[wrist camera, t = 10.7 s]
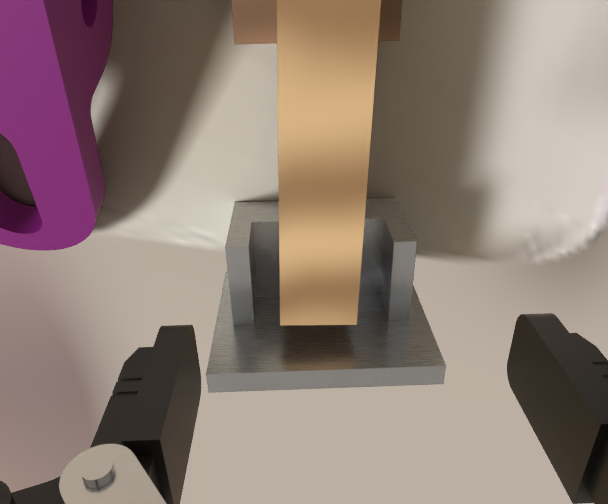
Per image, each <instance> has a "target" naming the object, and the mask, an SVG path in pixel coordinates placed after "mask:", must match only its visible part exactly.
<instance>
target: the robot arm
mask: <svg viewBox="0 0 608 504" xmlns="http://www.w3.org/2000/svg"><path fill="white" fill-rule="evenodd" d="M507 374H508V380H509V383H510V387H511V389H512V390H513V393H514V394H515V396H516V398H517V400H518V402H519V404H520V405H521V407H522V409H523V411H524V413H525V415H526V417H527V418H528V420H529V423H530V424H531V426H532V428H533V430H534V432H535V434H536V436H537V437H538V439H539V441H540V443H541V445H542V447H543V449H544V450H545V452H546V454H547V456H548V458H549V460H550V462H551V464H552V465H553V467H554V469H555V471H556V472H557V475H558V477H559V478H560V480H561V482H562V484H563V486H564V488H565V489H566V492H567V493H568V495H569V497H570V499H571V501H572V503H573V504H577V503H595V504H608V360H607V359H606V358H605V357H604V355H603V354H602V353H601V352H600V351H599V349H598V348H597V347H596V346H595V345H593V344H592V343H590V342H589V341H587V340H586V339H585V338H583V337H582V336H580V335H579V334H577V333H569V332H568V331H567V330H566V328H565V327H564V326H563V325H562V323H561V322H560V321H559V319H558V318H557V317H556V316H555V315H554V314H551V313H550V314H549V313H548V314H522V315H520V316H519V317H518V319H517V321H516V325H515V330H514V335H513V340H512V344H511V349H510V353H509V358H508V363H507ZM200 395H201V374H200V366H199V360H198V353H197V346H196V340H195V333H194V328H193V326H192V325H176V326H161V327H160V329H159V332H158V335H157V338H156V341H155V344H154V347H143V348H138V349H137V350H136V351H135V352H134V353H133V354H132V355H131V356H130V357H129V358H128V359H127V360H126V361H125V363H124V365H123V367H122V370H121V373H120V375H119V378H118V382H116V385H115V387H114V390H113V395H112V396H111V398H110V400H109V402H108V405H107V407H106V410H105V412H104V415H103V417H102V420H101V423H100V425H99V428H98V430H97V432H96V435H95V437H94V440H93V442H92V445H91V447H90V449H88V450H85V451H84V452H82V453H81V454H79V455H78V456H77V457H75V458H74V459H73V460H72V461H71V462H70V463H69V464H68V465H67V466H66V468H65V469H64V471H63V473H62V475H61V476H60V477H58V478H56V479H54V480H51V481H48V482H46V483H42V484H39V485H36V486H33V487H29V488H26V489H23V490H19V491H16V492H13V493H11V492H10V490H9V487H8V486H7V485H6V484H5V483H3V482H2V481H0V504H180V499H181V494H182V489H183V484H184V479H185V474H186V469H187V463H188V458H189V453H190V448H191V443H192V438H193V432H194V427H195V422H196V417H197V412H198V406H199V401H200Z"/></svg>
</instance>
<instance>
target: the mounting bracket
mask: <svg viewBox="0 0 608 504" xmlns="http://www.w3.org/2000/svg"><path fill="white" fill-rule="evenodd" d="M112 29H113V0H0V134H1V135H3V136H4V137H5V138H6V139H7V140H8V141H9V142H10V143H11V144H12V145H13V147H14V149H15V151H16V153H17V156H18V158H19V161H20V164H21V166H22V169H23V171H24V174H25V177H26V179H27V182H28V185H29V187H30V190H31V193H32V195H33V198H34V201H35V203H36V206H37V207H32V206H26V205H23V204H20V203H18V202H15V201H13V200H12V199H10V198H8V197H7V196H6V195H4V194H3V193H2V192H1V191H0V244H3V245H7V246H11V247H16V248H21V249H29V250H58V249H64V248H68V247H71V246H74V245H76V244H78V243H80V242H82V241H83V240H85V239H86V238H87V237H88V236H89V235H90V234H91V232H92V230H93V228H94V226H95V223H96V220H97V217H98V215H99V212H100V209H101V206H102V203H103V200H104V197H105V182H104V178H103V173H102V168H101V163H100V158H99V153H98V149H97V144H96V139H95V134H94V129H93V124H92V120H91V100H92V96H93V94H94V92H95V89H96V87H97V85H98V83H99V80H100V78H101V76H102V73H103V71H104V68H105V65H106V62H107V58H108V54H109V49H110V44H111V37H112Z"/></svg>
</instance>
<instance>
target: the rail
mask: <svg viewBox="0 0 608 504" xmlns="http://www.w3.org/2000/svg"><path fill="white" fill-rule="evenodd" d="M380 8H381V0H277V59H278V162H279V265H280V325H357V315H358V301H359V288H360V275H361V261H362V248H363V235H364V221H365V208H366V195H367V181H368V168H369V155H370V142H371V128H372V115H373V102H374V88H375V75H376V62H377V48H378V35H379V22H380Z"/></svg>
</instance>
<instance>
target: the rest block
mask: <svg viewBox="0 0 608 504" xmlns="http://www.w3.org/2000/svg"><path fill="white" fill-rule="evenodd" d="M231 2H232V16H233V29H234V42H235V44H268V43H277V0H231ZM401 5H402V0H381V8H380V22H379V35H378V41H397V40H399V36H400V21H401Z"/></svg>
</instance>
